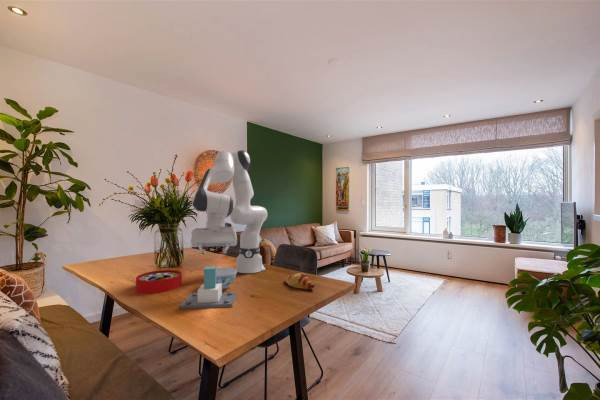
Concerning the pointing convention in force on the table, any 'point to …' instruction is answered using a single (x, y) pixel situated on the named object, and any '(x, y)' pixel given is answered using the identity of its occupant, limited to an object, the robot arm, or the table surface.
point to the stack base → (221, 303)
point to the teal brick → (210, 277)
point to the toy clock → (158, 281)
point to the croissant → (299, 281)
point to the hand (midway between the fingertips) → (213, 253)
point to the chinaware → (225, 276)
